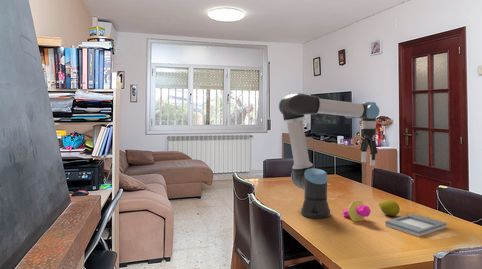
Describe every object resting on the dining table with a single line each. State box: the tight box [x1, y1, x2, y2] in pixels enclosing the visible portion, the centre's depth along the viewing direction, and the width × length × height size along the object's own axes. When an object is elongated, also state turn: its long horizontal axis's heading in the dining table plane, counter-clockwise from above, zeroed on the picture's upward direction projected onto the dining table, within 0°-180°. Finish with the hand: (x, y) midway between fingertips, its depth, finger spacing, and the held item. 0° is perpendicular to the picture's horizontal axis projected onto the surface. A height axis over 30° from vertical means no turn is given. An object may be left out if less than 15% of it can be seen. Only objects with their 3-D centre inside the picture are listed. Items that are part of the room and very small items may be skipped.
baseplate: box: [384, 213, 447, 237], centre depth 149 cm, size 22×16×2 cm
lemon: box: [378, 199, 401, 217], centre depth 166 cm, size 11×8×8 cm
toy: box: [342, 200, 372, 222], centre depth 159 cm, size 10×18×10 cm, turn 18°
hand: (368, 163), depth 190 cm, fingers open, 13 cm apart
